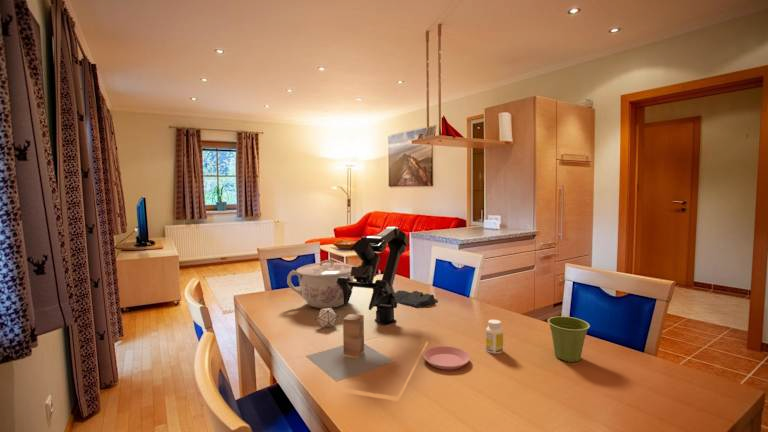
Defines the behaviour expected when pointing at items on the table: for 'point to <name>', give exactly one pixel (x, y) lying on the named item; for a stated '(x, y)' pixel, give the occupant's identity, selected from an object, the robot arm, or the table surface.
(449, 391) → the table surface
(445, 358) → the plate
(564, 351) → the plant pot
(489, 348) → the supplement bottle
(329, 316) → the game die
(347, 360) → the rubber mat
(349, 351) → the walnut block
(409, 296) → the dark slate chunk
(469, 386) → the table surface
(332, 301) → the chamber pot
